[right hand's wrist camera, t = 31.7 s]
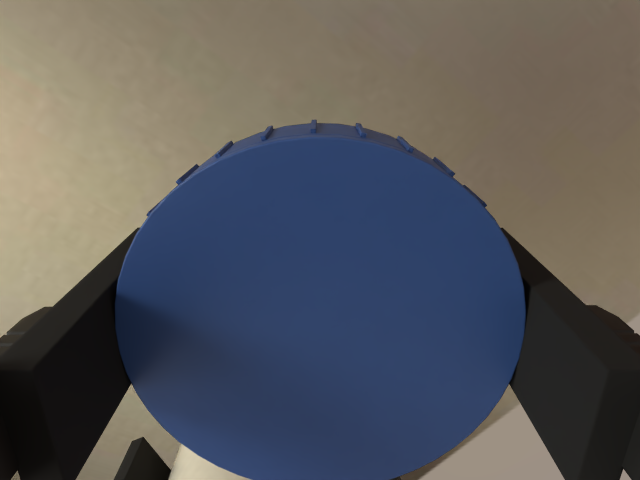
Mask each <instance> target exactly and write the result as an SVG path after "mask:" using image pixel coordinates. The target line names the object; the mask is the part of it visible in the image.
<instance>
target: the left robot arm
mask: <svg viewBox="0 0 640 480" xmlns="http://www.w3.org/2000/svg"><path fill="white" fill-rule="evenodd" d="M170 472H171V470H170V469H169V467H168V466H167V465H166V464H165V463H164V461H163V460H162V459H161V458H160V457H159V455H158V454H157V453H156V452H155V450H154V449H153V448H152V447H151V446H150V444H149V443H148V442H147V441H146V440H145V438H144V437H142V438H139V439H137V440H134V441H132V443H131V445H130V447H129V449H128V451H127V453H126V455H125V457H124V460H123V462H122V464H121V466H120V468H119V470H118V472H117V474H116V476H115V479H114V480H168V478H169V475H170ZM389 480H401V479H400V476H399V477H396V478H393V479H389Z"/></svg>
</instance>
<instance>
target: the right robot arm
mask: <svg viewBox="0 0 640 480" xmlns="http://www.w3.org/2000/svg"><path fill="white" fill-rule="evenodd" d="M139 229H140V228H137V229H136V230H135V231H134V232H133V233H132V234H131V235H129V236H128V237H127V238H126V239H125V240H124V241H123V242H122V243H121V244H120V245H119V246H118V247H117V248H115V249H114V250H113V251H112V252H111V253H110V254H109V255H108V256H107V257H106V258H105V259H104V260H103V261H101V262H100V263H99V264H98V265H97V266H96V267H95V268H94V269H93V270H92V271H91V272H90V273H89V274H87V275H86V276H85V277H84V278H83V279H82V280H81V281H80V282H79V283H78V284H77V285H76V286H75V287H73V288H72V289H71V290H70V291H69V292H68V293H67V294H66V295H65V296H64V297H63V298H62V299H61V300H60V301H58V302H57V303H56V304H55V305H54V306H53V307H44V308H42V309H40V310H38V311H36V312H34V313H32V314H30V315H28V316H26V317H25V318H23V319H21V320H20V321H19V322H18V323H17V324H16V325H15V326H13V327H12V328H11V329H10V330H9V331H8V332H7V335H3V336H2V337H1V338H0V480H11V478H12V477H13V476H14V474H15V473H16V472H17V470H18V473H19V476H20V479H21V480H75V479H76V478H77V476H78V474H79V473H80V471H81V469H82V467H83V466H84V464H85V462H86V460H87V459H88V457H89V455H90V454H91V452H92V450H93V448H94V447H95V445H96V443H97V442H98V440H99V438H100V436H101V435H102V433H103V431H104V429H105V428H106V426H107V424H108V423H109V421H110V419H111V417H112V416H113V414H114V412H115V411H116V409H117V407H118V405H119V404H120V402H121V400H122V398H123V397H124V395H125V393H126V392H127V390H128V388H129V386H130V385H131V381H130V379H129V377H128V375H127V373H126V371H125V367H124V364H123V361H122V358H121V355H120V351H119V346H118V341H117V336H116V330H115V298H116V291H117V284H118V278H119V275H120V272H121V269H122V265H123V262H124V259H125V256H126V254H127V252H128V250H129V248H130V246H131V244H132V242H133V239H134V237H135V235H136V233H137V232H138V230H139ZM501 230H502V232H503V233H504V235H505V236H506V238H507V239H508V241H509V244H510V246H511V248H512V251H513V253H514V256H515V258H516V260H517V263H518V265H519V269H520V274H521V278H522V282H523V286H524V293H525V304H526V322H525V332H524V338H523V343H522V348H521V353H520V358H519V361H518V363H517V366H516V368H515V371H514V374H513V376H512V379H511V381H510V383H509V384H510V386H511V388H512V389H513V391H514V393H515V395H516V396H517V398H518V400H519V401H520V403H521V405H522V407H523V408H524V410H525V412H526V413H527V415H528V417H529V419H530V420H531V422H532V424H533V426H534V427H535V429H536V431H537V432H538V434H539V436H540V437H541V439H542V441H543V443H544V444H545V446H546V448H547V450H548V451H549V453H550V455H551V456H552V458H553V460H554V462H555V463H556V465H557V467H558V469H559V470H560V472H561V474H562V475H563V477H564V479H565V480H620V477H621V474H622V471H623V469H624V470H625V471H626V473H627V474H628V475H629V477H630V478H631V479H632V480H640V335H638V334H637V333H634V330H633V329H631V328H630V327H629V326H628V325H627V324H626V323H625V322H623V321H622V320H621V319H620V318H619V317H617V316H615V315H613V314H612V313H610V312H608V311H606V310H604V309H602V308H600V307H598V306H596V305H585V304H584V303H583V302H582V301H581V300H580V299H579V298H578V297H577V296H575V295H574V294H573V293H572V292H571V291H570V290H569V289H568V288H567V287H566V286H565V285H564V284H563V283H561V282H560V281H559V280H558V279H557V278H556V277H555V276H554V275H553V274H552V273H551V272H550V271H549V270H547V269H546V268H545V267H544V266H543V265H542V264H541V263H540V262H539V261H538V260H537V259H536V258H535V257H533V256H532V255H531V254H530V253H529V252H528V251H527V250H526V249H525V248H524V247H523V246H522V245H521V244H519V243H518V242H517V241H516V240H515V239H514V238H513V237H512V236H511V235H510V234H509V233H508V232H507V231H505V230H504V229H503V228H501Z"/></svg>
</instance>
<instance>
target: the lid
mask: <svg viewBox="0 0 640 480" xmlns="http://www.w3.org/2000/svg"><path fill="white" fill-rule="evenodd" d="M454 175H455V173H454V172H453V171H452V170H450V169H449V168H448V167H447V166H446V165H444V164H443V163H442V162H441V161H440V160H439V159H437V158H436V157H434V158H433V159H431V158H430V157H428V156H427V155H425V154H423V153H422V152H420V151H419V150H417V149H416V148H414V147H413V146H411V145H410V144H408V143H407V142H406V141H405V140H404V139H403V138H402V137H400V136H398V137H397V139H395V138H393V137H391V136H389V135H386V134H382V133H379V132H376V131H372V130H369V129H366V128H363V127H362V125H361V124H359V123H356V126H349V125H342V124H325V123H317V120H312V122H311V123H309V124H300V125H291V126H284V127H280V128H276V129H273V126H269V127H267V129H266V130H265V131H264V132H260V133H258V134H255V135H253V136H250V137H248V138H245V139H243V140H240V141H238V142H236V143H234V144H233V142H232V141H230V142H228V143H227V144H226V145H225V146H224V147H223V148H221V149H220V150H219V151H218V152H217V153H216V154H215V155H214V156H212V157H211V158H210V159H208V160H207V161H206V162H205V163H203V164H202V165H201V166H198V165H197V164H196V165H195V166H194V167H192V168H191V169H190V170H189V171H188V172H186V173H185V174H184V175H183V176H182V177H181V178H179V179H178V180H177V181H176V183H177V184H178V186H176V187H175V188H174V189H173V190H172V191H171V192H170V193H169V194H168V195H167V196H166V197H165V198H164V199H163V200H161V201H160V202H159V203H158V204H157V205H156V206H155V207H154V208H152V209H151V210H150V211H149V212H148V214H147V216H148V218H147V219H146V220H145V222H144V223H143V225H142V226H141V228H140V229H139V230H138V232H137V233H136V235H135V237H134V239H133V242H132V244H131V246H130V248H129V250H128V252H127V254H126V256H125V259H124V262H123V265H122V269H121V272H120V275H119V278H118V284H117V291H116V298H115V330H116V336H117V341H118V346H119V351H120V355H121V358H122V361H123V364H124V367H125V371H126V373H127V375H128V377H129V379H130V381H131V383H132V385H133V387H134V389H135V391H136V393H137V394H138V396H139V397H140V399H141V400H142V402H143V403H144V405H145V406H146V408H147V409H148V411H149V412H150V413H151V414H152V415H153V417H154V418H155V419H156V420H157V421H158V422H159V423H160V425H161V426H162V427H163V428H164V429H165V430H166V431H168V432H169V433H170V434H171V435H172V436H173V437H174V438H175V439H176V440H177V441H179V442H180V443H181V444H183V445H184V446H185V447H187V448H188V449H190V450H191V451H192V452H194V453H195V454H197V455H198V456H200V457H202V458H203V459H205V460H207V461H209V462H210V463H212V464H214V465H216V466H218V467H220V468H222V469H225V470H227V471H229V472H232V473H234V474H236V475H239V476H242V477H245V478H248V479H251V480H389V479H393V478H396V477H399V476H401V475H404V474H406V473H409V472H412V471H414V470H416V469H418V468H420V467H422V466H424V465H426V464H428V463H430V462H432V461H434V460H436V459H437V458H439V457H441V456H442V455H444V454H445V453H447V452H448V451H450V450H451V449H453V448H454V447H456V446H457V445H458V444H459V443H460V442H462V441H463V440H464V439H465V438H466V437H468V436H469V435H470V434H471V433H472V432H473V431H474V430H475V429H476V428H477V427H478V426H479V425H480V424H481V423H482V422H483V421H484V420H485V419H486V418H487V416H488V415H489V414H490V412H491V411H492V410H493V408H494V407H495V406H496V404H497V403H498V402H499V400H500V399H501V397H502V395H503V393H504V392H505V390H506V388H507V386H508V384H509V383H510V381H511V379H512V376H513V374H514V371H515V368H516V366H517V363H518V361H519V358H520V353H521V348H522V343H523V338H524V332H525V322H526V304H525V293H524V286H523V282H522V278H521V274H520V269H519V265H518V263H517V260H516V258H515V256H514V253H513V251H512V248H511V246H510V244H509V241H508V239H507V238H506V236H505V235H504V233H503V232H502V230H501V228H500V227H499V225H498V224H497V222H496V220H495V219H494V218H493V216H492V215H491V214H490V213H489V212H488V211H487V209H486V208H485V207H486V206H487V205H486V203H485V202H484V201H483V200H481V199H480V198H479V197H478V196H477V195H476V194H475V193H473V192H472V191H471V190H470V189H469V188H468V187H467V186H465V185H461V184H460V183H459V182H458V181H457V180H456V179H455V178H454V177H453V176H454Z"/></svg>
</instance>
